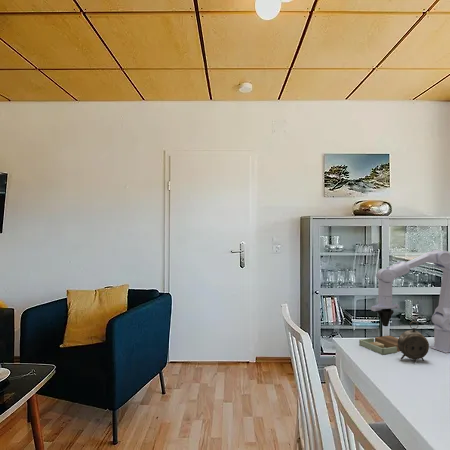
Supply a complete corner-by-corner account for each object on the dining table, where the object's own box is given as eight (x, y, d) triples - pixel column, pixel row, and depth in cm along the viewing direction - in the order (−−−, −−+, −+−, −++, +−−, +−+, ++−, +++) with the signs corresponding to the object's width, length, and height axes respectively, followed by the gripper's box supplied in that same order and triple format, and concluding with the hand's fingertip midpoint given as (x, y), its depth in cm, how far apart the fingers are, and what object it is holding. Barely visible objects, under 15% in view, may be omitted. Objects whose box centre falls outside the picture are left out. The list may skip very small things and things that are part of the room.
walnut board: (389, 341, 177) (389, 335, 177) (410, 349, 166) (410, 342, 166) (374, 343, 174) (374, 337, 174) (395, 352, 163) (395, 345, 163)
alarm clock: (424, 359, 154) (425, 319, 154) (430, 364, 148) (431, 323, 148) (397, 358, 155) (397, 318, 155) (401, 363, 149) (402, 322, 150)
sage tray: (372, 343, 175) (372, 337, 175) (397, 352, 162) (397, 346, 162) (359, 345, 172) (359, 339, 172) (382, 355, 159) (382, 349, 159)
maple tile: (368, 342, 168) (368, 347, 167) (376, 345, 163) (376, 350, 163) (376, 341, 169) (376, 346, 169) (384, 344, 165) (384, 349, 165)
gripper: (390, 293, 175) (390, 322, 175) (366, 295, 169) (366, 325, 169) (402, 295, 168) (402, 325, 168) (377, 297, 163) (377, 329, 163)
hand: (385, 325), depth 168 cm, fingers closed
